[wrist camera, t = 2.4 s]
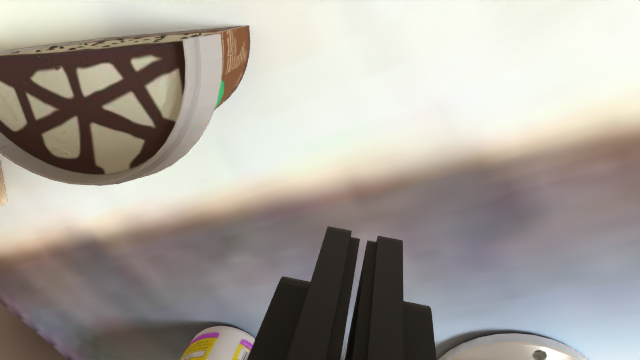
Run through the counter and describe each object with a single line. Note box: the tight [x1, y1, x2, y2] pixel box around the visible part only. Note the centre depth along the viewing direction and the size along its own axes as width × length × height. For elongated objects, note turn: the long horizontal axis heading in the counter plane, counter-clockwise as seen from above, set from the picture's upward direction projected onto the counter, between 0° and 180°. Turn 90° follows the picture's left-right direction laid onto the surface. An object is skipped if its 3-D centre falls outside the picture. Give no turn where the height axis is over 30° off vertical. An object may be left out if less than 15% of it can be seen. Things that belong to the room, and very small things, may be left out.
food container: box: [0, 26, 250, 186], centre depth 22 cm, size 12×6×10 cm, turn 95°
